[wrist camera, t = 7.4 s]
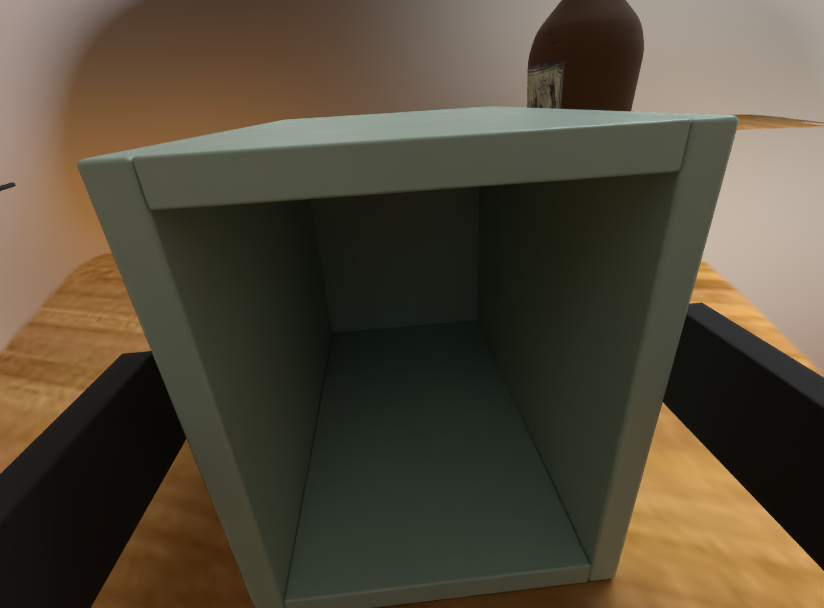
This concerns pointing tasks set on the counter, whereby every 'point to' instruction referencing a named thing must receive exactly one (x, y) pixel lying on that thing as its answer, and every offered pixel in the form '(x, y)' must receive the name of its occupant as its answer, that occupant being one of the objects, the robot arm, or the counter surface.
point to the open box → (418, 334)
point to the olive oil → (586, 57)
